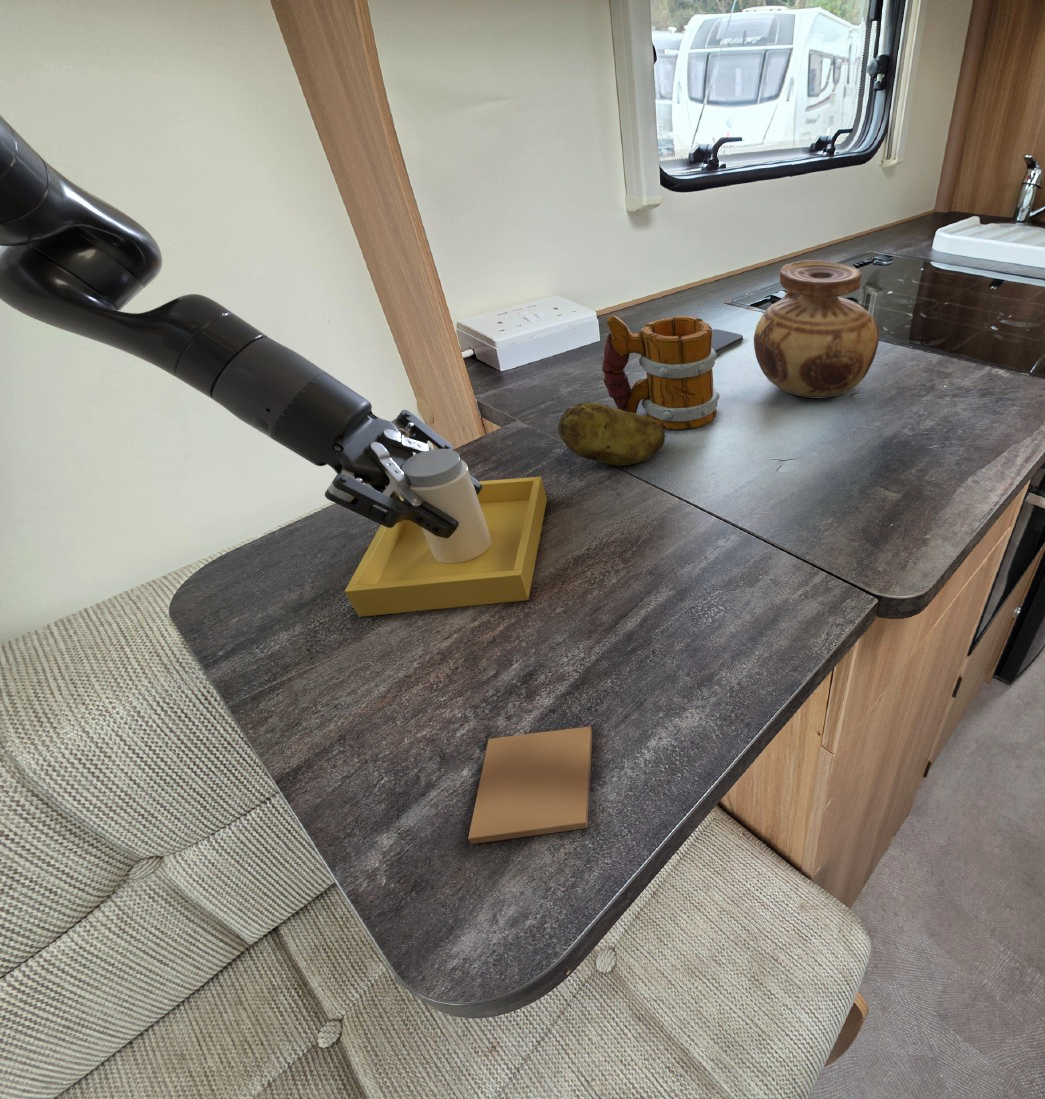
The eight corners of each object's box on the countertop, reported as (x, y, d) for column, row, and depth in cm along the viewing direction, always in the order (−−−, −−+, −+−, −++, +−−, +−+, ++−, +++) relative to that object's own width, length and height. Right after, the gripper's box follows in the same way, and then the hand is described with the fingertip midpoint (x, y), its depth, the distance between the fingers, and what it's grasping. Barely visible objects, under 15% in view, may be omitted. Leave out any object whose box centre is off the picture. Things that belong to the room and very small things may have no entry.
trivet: (587, 828, 40) (585, 822, 40) (471, 844, 39) (467, 838, 39) (592, 732, 46) (590, 726, 46) (491, 744, 45) (488, 738, 45)
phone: (745, 335, 113) (697, 359, 103) (745, 339, 113) (698, 364, 104) (714, 328, 116) (664, 350, 106) (714, 332, 117) (665, 355, 107)
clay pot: (910, 380, 90) (886, 252, 77) (804, 441, 91) (760, 324, 77) (850, 338, 104) (820, 223, 91) (758, 390, 105) (714, 284, 91)
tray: (528, 600, 58) (520, 574, 56) (358, 617, 56) (344, 591, 54) (547, 499, 71) (541, 476, 69) (411, 511, 70) (400, 487, 68)
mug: (726, 426, 86) (725, 320, 76) (611, 438, 83) (595, 330, 74) (713, 395, 94) (710, 296, 84) (608, 406, 91) (592, 304, 82)
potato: (664, 475, 75) (658, 417, 70) (562, 478, 75) (549, 420, 70) (667, 443, 82) (662, 388, 77) (573, 446, 82) (562, 390, 77)
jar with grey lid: (486, 560, 61) (456, 475, 55) (425, 566, 60) (388, 481, 54) (495, 526, 66) (469, 444, 59) (439, 531, 65) (406, 448, 59)
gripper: (259, 411, 46) (458, 534, 53) (354, 344, 57) (507, 453, 64) (228, 470, 49) (419, 578, 56) (323, 396, 60) (472, 494, 68)
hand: (465, 511), depth 60 cm, fingers closed on jar with grey lid, 6 cm apart
